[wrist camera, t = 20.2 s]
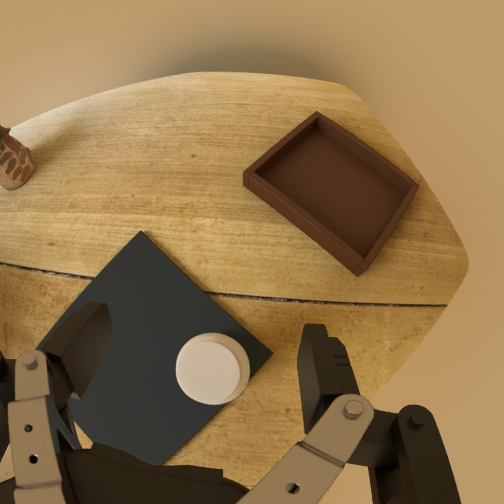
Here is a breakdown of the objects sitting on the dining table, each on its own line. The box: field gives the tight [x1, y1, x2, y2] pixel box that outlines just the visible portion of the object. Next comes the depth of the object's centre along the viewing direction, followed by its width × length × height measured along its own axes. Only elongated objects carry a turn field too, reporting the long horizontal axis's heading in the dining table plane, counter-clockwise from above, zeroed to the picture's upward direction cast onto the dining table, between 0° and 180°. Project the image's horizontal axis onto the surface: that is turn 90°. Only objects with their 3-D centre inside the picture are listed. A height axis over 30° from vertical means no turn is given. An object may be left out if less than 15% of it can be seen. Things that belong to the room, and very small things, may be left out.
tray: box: [243, 111, 419, 277], centre depth 30 cm, size 16×14×2 cm
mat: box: [35, 231, 273, 466], centre depth 24 cm, size 18×20×1 cm
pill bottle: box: [176, 333, 250, 405], centre depth 20 cm, size 5×5×9 cm
